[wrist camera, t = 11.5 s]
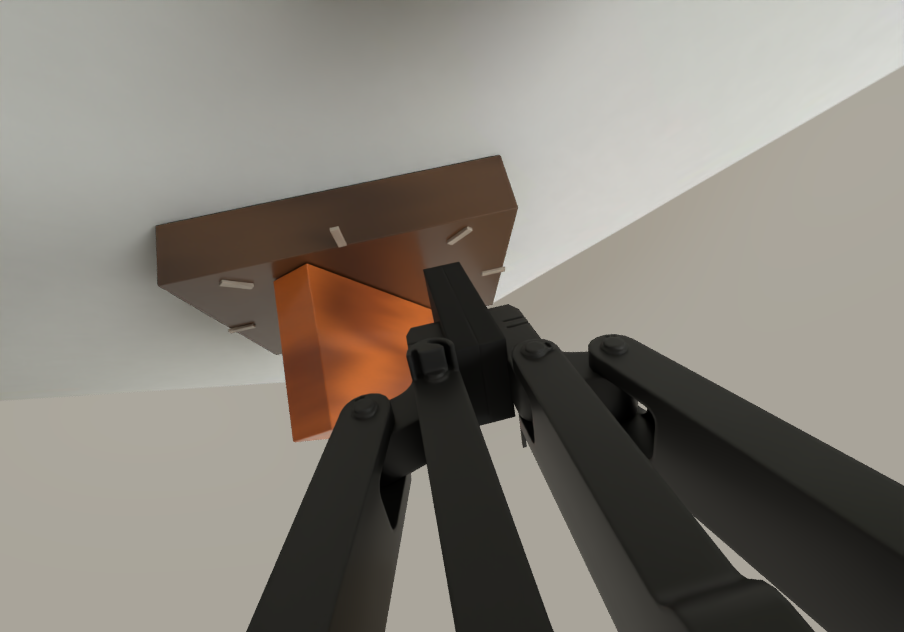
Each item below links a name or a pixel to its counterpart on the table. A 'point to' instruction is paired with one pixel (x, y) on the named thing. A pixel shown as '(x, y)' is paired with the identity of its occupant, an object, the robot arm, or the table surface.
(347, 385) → the pointer
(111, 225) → the table surface
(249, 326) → the dial panel
